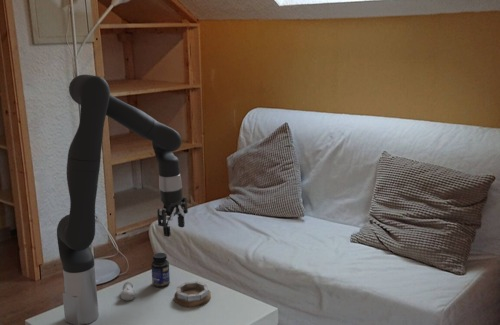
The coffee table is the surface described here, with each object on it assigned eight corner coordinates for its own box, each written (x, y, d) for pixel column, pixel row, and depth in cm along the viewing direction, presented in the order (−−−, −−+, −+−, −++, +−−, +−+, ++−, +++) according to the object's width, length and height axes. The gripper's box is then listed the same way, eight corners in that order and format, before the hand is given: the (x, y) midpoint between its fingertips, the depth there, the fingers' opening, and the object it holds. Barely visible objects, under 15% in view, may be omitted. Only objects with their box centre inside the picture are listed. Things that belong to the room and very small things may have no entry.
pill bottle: (166, 288, 183) (164, 259, 180) (149, 287, 184) (148, 258, 182) (172, 281, 189) (170, 252, 186) (156, 279, 190) (154, 251, 187)
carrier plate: (195, 310, 168) (195, 300, 167) (167, 301, 175) (166, 291, 174) (217, 295, 178) (217, 286, 177) (190, 286, 184) (189, 277, 184)
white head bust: (133, 305, 175) (118, 302, 174) (136, 293, 182) (121, 290, 181) (137, 293, 174) (121, 290, 173) (139, 282, 181) (124, 279, 181)
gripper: (173, 179, 186) (177, 222, 190) (148, 192, 174) (153, 237, 178) (191, 182, 183) (194, 225, 187) (167, 194, 170) (171, 241, 175)
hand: (174, 231), depth 183 cm, fingers open, 8 cm apart
